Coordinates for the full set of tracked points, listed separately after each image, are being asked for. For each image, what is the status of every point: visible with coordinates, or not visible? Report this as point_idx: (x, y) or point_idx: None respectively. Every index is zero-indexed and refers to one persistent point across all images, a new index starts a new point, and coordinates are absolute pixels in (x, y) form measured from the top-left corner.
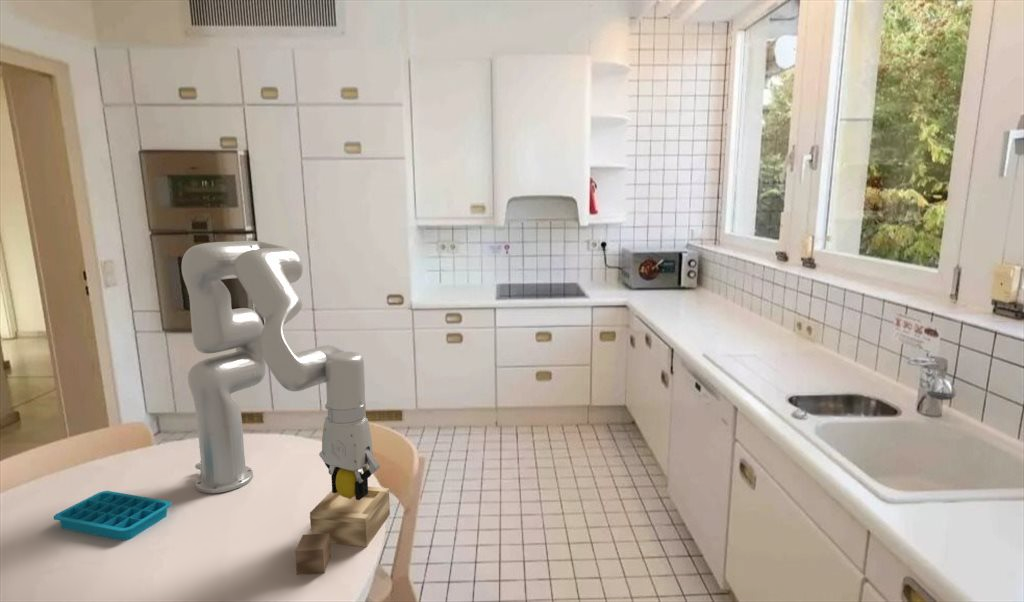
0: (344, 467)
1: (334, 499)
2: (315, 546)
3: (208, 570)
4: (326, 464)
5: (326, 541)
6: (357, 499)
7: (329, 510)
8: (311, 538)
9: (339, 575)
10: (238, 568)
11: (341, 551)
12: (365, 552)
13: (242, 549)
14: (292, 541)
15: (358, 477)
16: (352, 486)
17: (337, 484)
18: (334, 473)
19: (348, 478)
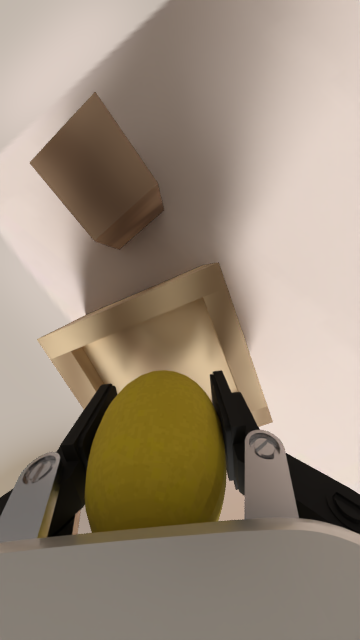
0: (29, 572)
1: (229, 368)
2: (63, 159)
3: (341, 4)
4: (339, 495)
5: (65, 205)
6: (103, 385)
7: (171, 308)
8: (114, 184)
9: (44, 212)
10: (271, 71)
11: (115, 275)
12: (72, 301)
13: (327, 138)
14: (240, 237)
15: (36, 485)
16: (102, 418)
17: (170, 393)
18: (244, 448)
19: (99, 451)
